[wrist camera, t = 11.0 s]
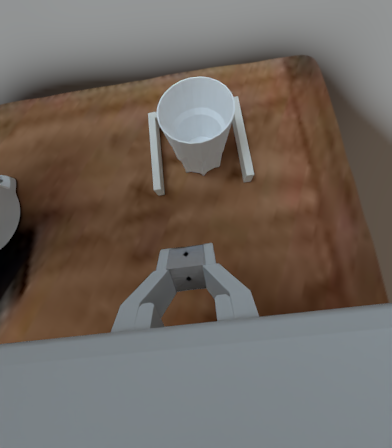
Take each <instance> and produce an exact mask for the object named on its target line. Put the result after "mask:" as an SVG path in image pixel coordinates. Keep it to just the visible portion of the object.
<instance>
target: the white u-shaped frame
mask: <svg viewBox="0 0 392 448" xmlns="http://www.w3.org/2000/svg"><path fill="white" fill-rule="evenodd" d="M233 98H234V100H235V112H234V116H233V120H232V124H233V129H234V134H235V140H236V145H237V150H238V155H239V160H240V165H241V170H242V176H243V181H244V182H251V180H252V178H253V176H254V171H253V166H252V161H251V156H250V152H249V147H248V142H247V137H246V133H245V128H244V123H243V118H242V114H241V109H240V104H239V99H238V96H237V97H233ZM148 119H149V133H150V147H151V161H152V175H153V189H154V191H155V192H156V193H157V195H158V196H159V195H165V190H164V179H163V167H162V155H161V144H160V132H159V128H160V126H159V124H158V120H157V112H152V113H148Z"/></svg>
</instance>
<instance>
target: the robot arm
mask: <svg viewBox="0 0 392 448" xmlns="http://www.w3.org/2000/svg"><path fill="white" fill-rule="evenodd" d="M19 218H20V204H19V200H18V198H17V195H16V180H15V179H14V178H12V177H9V176H4V175H0V249H2V248H3V247H4V246H5V245H6V244H7V243H8V241H9V240H10V239H11V237H12V236H13V234H14V232H15V230H16V228H17V226H18V223H19ZM205 288H207V290H208V291H209V293H210V294H211V295H212V297H213V298H214V299H215V305H216V314H217V321H215V322H206V323H196V324H187V325H177V326H168V327H165V326H164V324H163V322H162V320H161V317H162V316H163V314H164V312H165V311H166V309H167V308H168V306H169V304H170V303H171V301H172V299H173V298H174V296H175V295H176V292H179V291H186V290H194V289H205ZM0 448H392V303H385V304H375V305H366V306H356V307H347V308H338V309H328V310H319V311H309V312H300V313H290V314H281V315H271V316H262V317H259V315H258V312H257V309H256V306H255V303H254V300H253V297H252V294H251V291H250V290H249V289H248V288H247V287H245V286H244V285H243V284H242V283H241V282H240V281H239V280H237V279H236V278H235V277H234V276H233V275H232V274H230V273H229V272H228V271H227V270H226V269H225V268H224V267H222V266H221V265H220V264H219V263H218V264H216V260H215V254H214V249H213V244H212V243H207V244H204V245H203V244H202V245H195V246H187V247H178V248H170V249H161V251H160V254H159V259H158V263H157V268H156V271H153V272H152V273H151V274H150V275H149V276H148V277H147V278H146V279H145V281H144V282H143V283H142V284H141V285H140V286H139V287H138V288H137V289H136V290H135V291H134V292H133V293H132V294H131V295H130V296H129V297H128V298H127V299H126V300H125V301H124V302H123V303H122V304H121V305H120V308H119V311H118V314H117V316H116V319H115V322H114V325H113V328H112V330H111V333H102V334H92V335H83V336H73V337H64V338H54V339H45V340H35V341H26V342H16V343H7V344H0Z"/></svg>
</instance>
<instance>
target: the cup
mask: <svg viewBox="0 0 392 448" xmlns="http://www.w3.org/2000/svg"><path fill="white" fill-rule="evenodd" d="M234 112H235V100H234V98H233V95H232V93H231V92H230V90H229V89H228V88H227V87H226V86H225V85H224V84H222V83H221V82H219V81H218V80H215V79H212V78H208V77H191V78H187V79H184V80H181V81H179V82H177V83H176V84H174V85H172V86H171V87H170V88H169V89H168V90H167V91H166V92H165V93H164V94H163V96H162V97H161V99H160V101H159V104H158V107H157V120H158V124H159V126H160V128H161V129H162V131H163V133H164V135H165V136H166V138H167V140H168V141H169V143H170V145H171V146H172V148H173V150H174V152H175V154H176V156H177V158H178V159H179V160H180V161H182V164H183V166H184V168H185V170H186V173H187V172H196V173H200V174H202V175H203V176H204V175H205V174H206V172H208V171H210V170H211V169H213V168H215V167H220V162H221V157H222V152H223V151H224V147H225V143H226V141H227V137H228V134H229V130H230V127H231V123H232V120H233V116H234Z"/></svg>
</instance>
